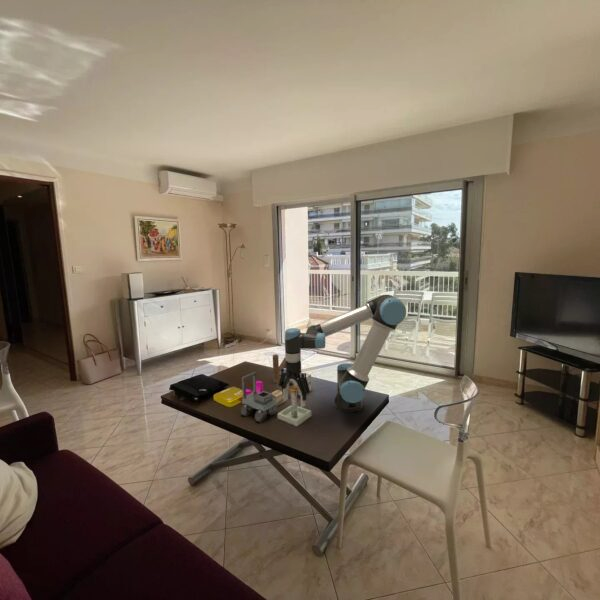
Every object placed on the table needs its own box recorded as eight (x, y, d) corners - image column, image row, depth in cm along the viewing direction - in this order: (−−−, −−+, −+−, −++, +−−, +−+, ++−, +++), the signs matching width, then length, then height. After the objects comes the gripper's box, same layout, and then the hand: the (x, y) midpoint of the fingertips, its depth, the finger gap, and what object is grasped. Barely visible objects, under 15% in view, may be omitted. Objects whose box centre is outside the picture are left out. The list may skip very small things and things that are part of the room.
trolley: (279, 413, 164) (278, 376, 161) (260, 425, 153) (258, 385, 150) (258, 405, 173) (257, 370, 170) (239, 416, 162) (237, 378, 159)
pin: (300, 415, 159) (300, 387, 157) (295, 419, 156) (294, 390, 154) (293, 413, 162) (293, 384, 160) (287, 417, 159) (287, 388, 156)
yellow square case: (233, 392, 190) (233, 385, 189) (250, 399, 181) (250, 391, 180) (212, 402, 179) (211, 394, 178) (229, 410, 169) (229, 401, 169)
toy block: (253, 405, 173) (252, 392, 172) (243, 403, 175) (242, 391, 174) (266, 394, 186) (266, 382, 185) (257, 392, 189) (257, 380, 188)
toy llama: (313, 389, 192) (312, 357, 189) (296, 400, 178) (296, 366, 175) (303, 386, 196) (302, 355, 193) (286, 397, 182) (285, 363, 179)
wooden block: (288, 379, 208) (288, 352, 205) (275, 383, 201) (274, 356, 198) (285, 377, 211) (284, 351, 208) (272, 382, 204) (271, 355, 201)
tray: (311, 416, 160) (311, 410, 160) (296, 426, 151) (296, 421, 150) (292, 409, 167) (292, 404, 167) (277, 419, 158) (277, 413, 158)
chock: (284, 402, 176) (284, 391, 175) (276, 407, 171) (276, 396, 170) (278, 399, 179) (277, 389, 178) (269, 404, 174) (269, 394, 173)
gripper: (316, 362, 151) (317, 406, 154) (280, 354, 164) (281, 394, 168) (307, 367, 145) (308, 412, 148) (270, 358, 159) (272, 400, 162)
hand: (294, 403), depth 158 cm, fingers open, 10 cm apart
